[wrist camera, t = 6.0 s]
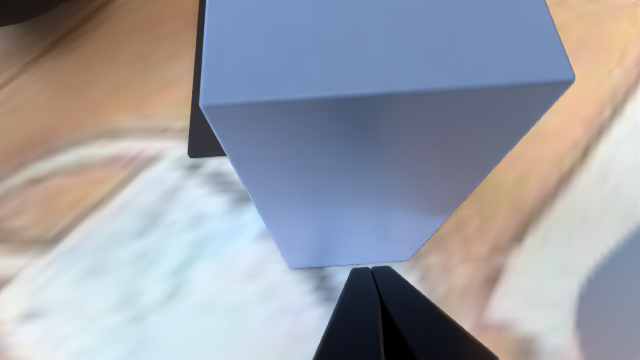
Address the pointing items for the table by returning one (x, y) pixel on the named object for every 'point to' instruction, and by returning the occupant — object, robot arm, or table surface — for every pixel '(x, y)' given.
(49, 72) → the table surface
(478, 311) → the table surface
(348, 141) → the blue block
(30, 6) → the wine glass
